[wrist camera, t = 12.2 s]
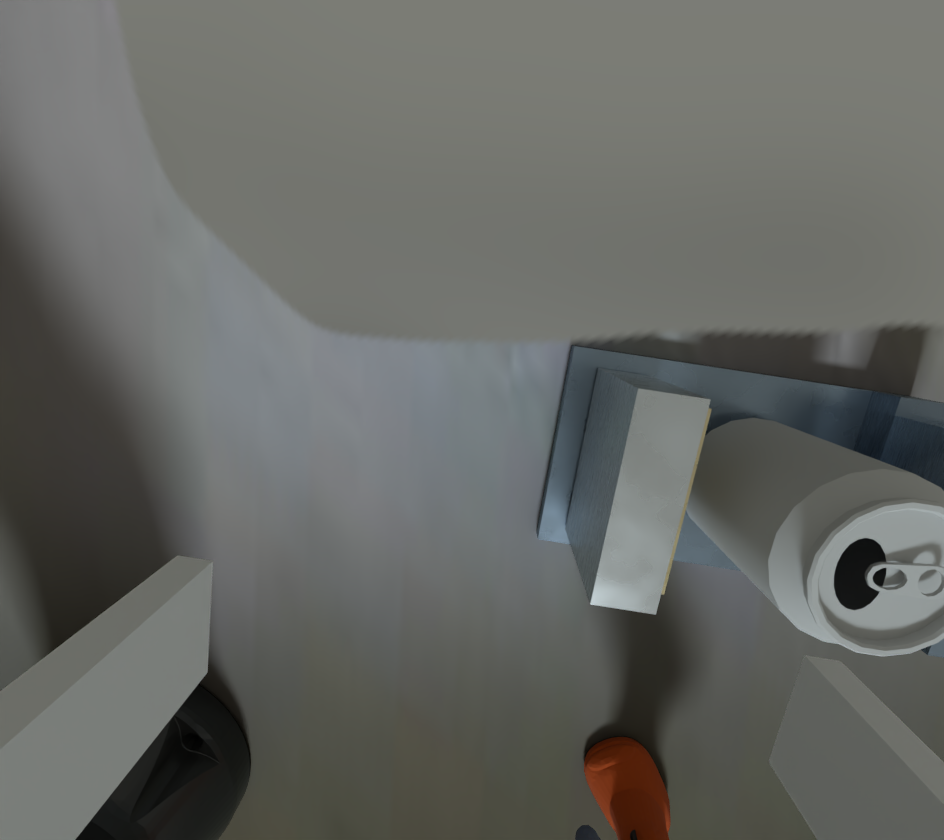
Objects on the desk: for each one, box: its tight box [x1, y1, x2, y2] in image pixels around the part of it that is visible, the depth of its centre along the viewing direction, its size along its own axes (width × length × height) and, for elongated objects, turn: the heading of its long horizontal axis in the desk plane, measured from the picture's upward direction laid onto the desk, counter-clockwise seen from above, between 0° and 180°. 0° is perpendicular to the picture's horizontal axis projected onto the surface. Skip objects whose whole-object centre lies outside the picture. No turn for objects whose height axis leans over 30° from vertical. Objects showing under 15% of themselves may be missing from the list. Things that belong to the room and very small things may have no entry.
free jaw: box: [565, 368, 712, 615], centre depth 25 cm, size 4×10×8 cm, turn 172°
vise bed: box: [537, 345, 944, 658], centre depth 26 cm, size 20×12×9 cm, turn 82°
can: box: [686, 418, 944, 657], centre depth 23 cm, size 8×8×12 cm
